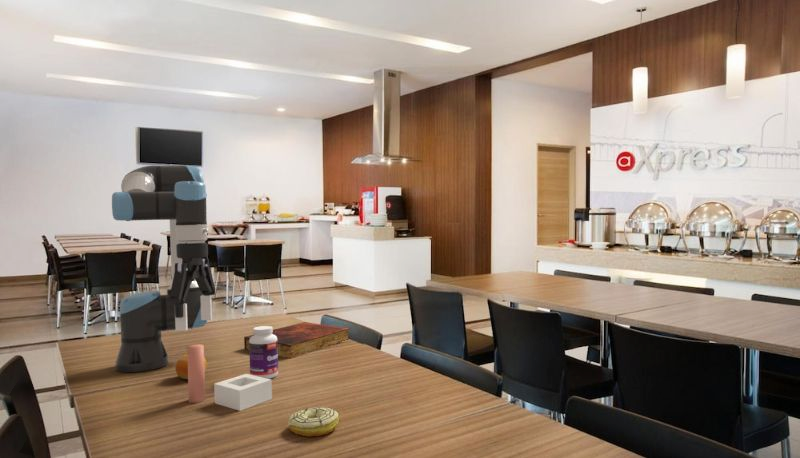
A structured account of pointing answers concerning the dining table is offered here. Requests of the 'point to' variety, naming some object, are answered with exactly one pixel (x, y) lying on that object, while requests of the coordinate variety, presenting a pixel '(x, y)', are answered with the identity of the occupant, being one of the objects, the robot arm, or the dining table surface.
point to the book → (305, 338)
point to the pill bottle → (263, 352)
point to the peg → (196, 373)
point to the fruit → (185, 367)
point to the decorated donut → (313, 421)
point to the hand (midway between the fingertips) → (194, 325)
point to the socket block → (243, 391)
